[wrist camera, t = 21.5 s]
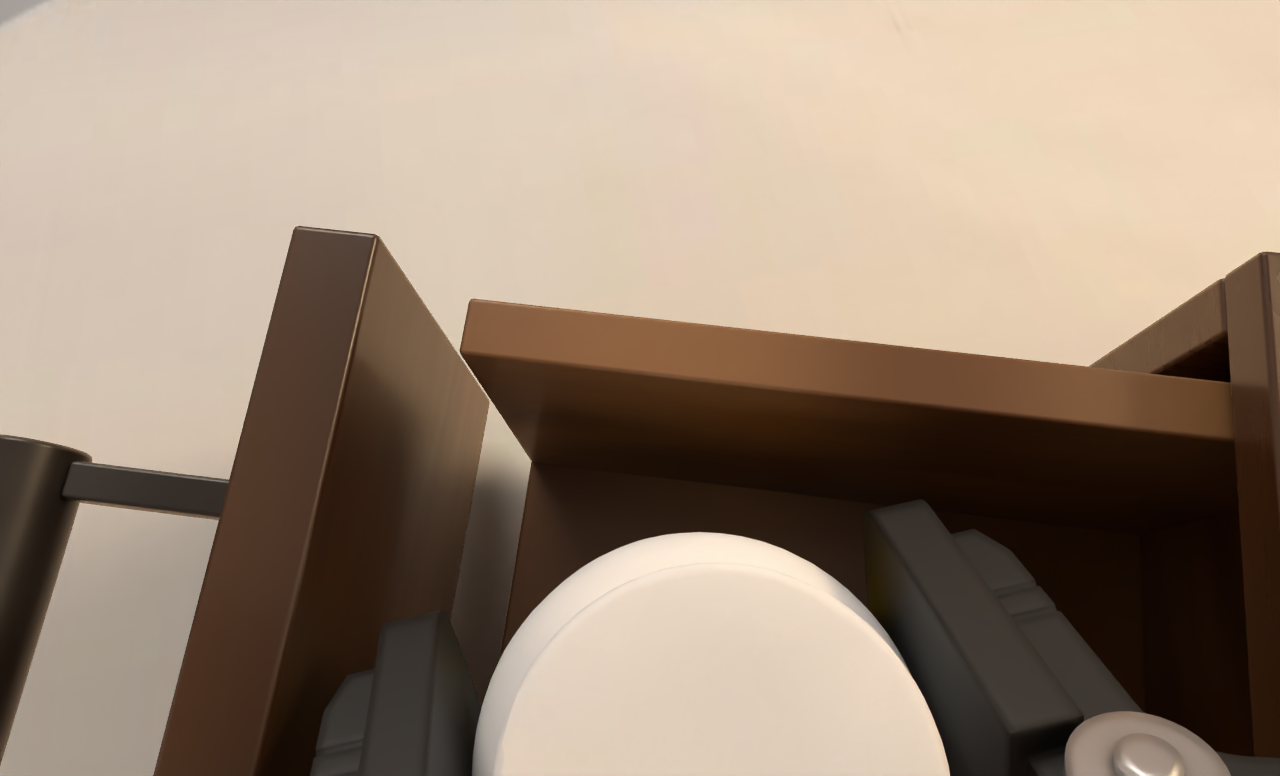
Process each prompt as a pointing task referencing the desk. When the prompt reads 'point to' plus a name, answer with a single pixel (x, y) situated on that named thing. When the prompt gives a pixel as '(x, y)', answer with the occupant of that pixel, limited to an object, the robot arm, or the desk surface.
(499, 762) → the supplement bottle
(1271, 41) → the desk surface
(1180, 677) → the drawer
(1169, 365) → the cabinet
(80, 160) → the desk surface
